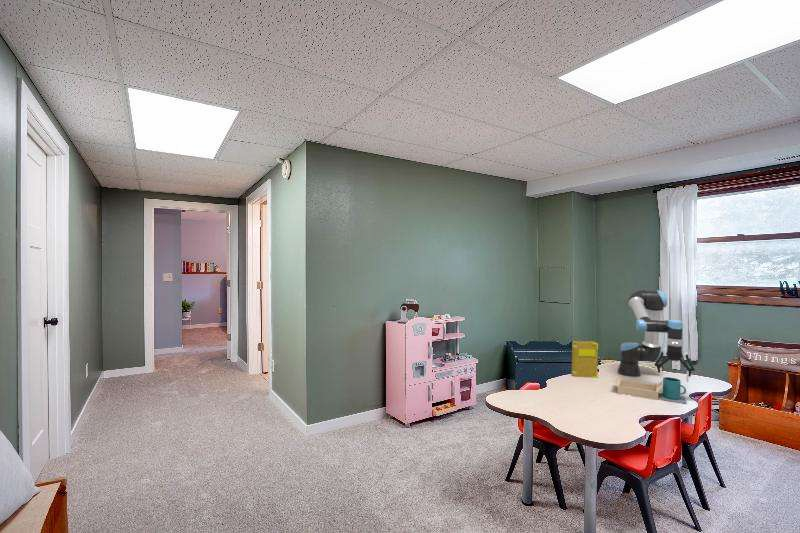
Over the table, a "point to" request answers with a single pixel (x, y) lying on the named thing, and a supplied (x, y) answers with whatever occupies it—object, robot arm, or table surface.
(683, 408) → the table surface
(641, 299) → the robot arm
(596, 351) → the book
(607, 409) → the table surface
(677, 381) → the cup
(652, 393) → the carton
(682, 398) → the mat
